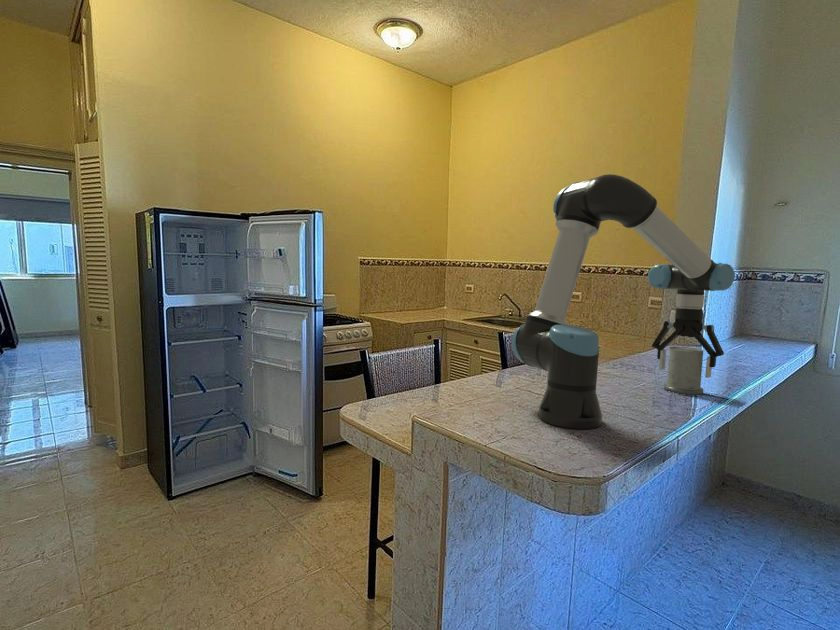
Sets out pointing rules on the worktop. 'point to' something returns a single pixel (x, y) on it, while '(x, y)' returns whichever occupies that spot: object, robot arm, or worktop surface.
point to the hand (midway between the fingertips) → (684, 373)
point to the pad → (682, 391)
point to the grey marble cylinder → (685, 368)
